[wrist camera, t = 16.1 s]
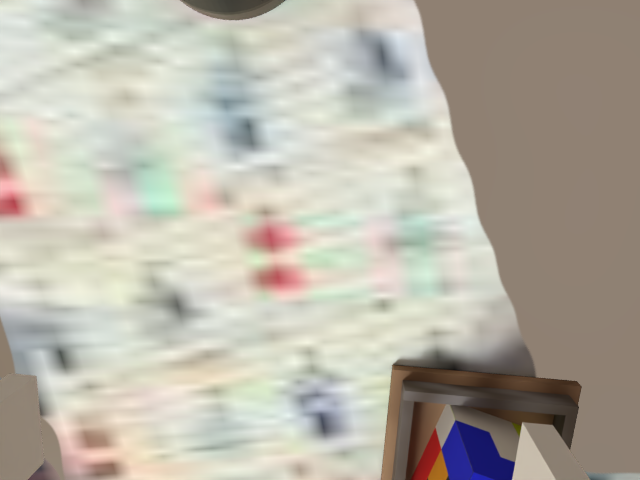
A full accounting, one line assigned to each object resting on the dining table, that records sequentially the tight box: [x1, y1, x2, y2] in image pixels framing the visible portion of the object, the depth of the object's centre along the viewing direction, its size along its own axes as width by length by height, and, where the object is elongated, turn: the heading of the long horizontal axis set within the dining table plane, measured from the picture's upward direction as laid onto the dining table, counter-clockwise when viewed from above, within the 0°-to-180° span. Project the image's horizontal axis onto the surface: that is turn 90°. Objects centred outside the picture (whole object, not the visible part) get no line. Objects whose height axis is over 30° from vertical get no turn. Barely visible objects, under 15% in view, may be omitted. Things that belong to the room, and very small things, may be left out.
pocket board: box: [381, 365, 581, 480], centre depth 46 cm, size 18×18×3 cm
